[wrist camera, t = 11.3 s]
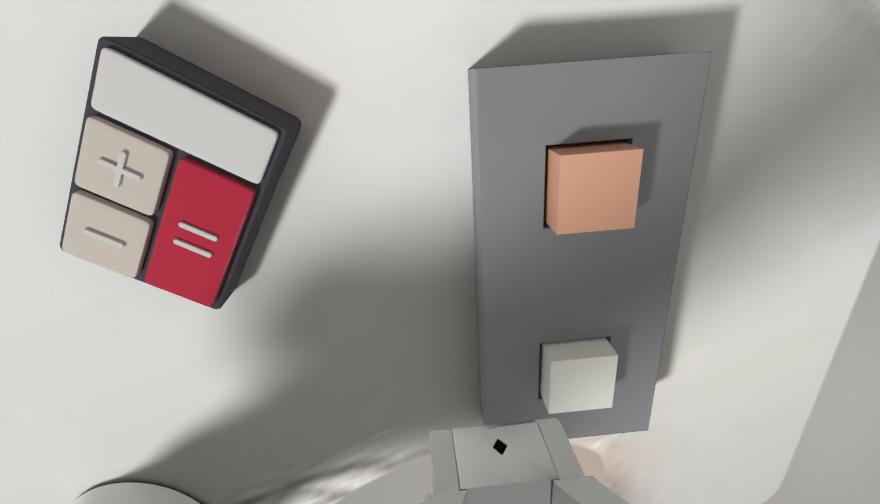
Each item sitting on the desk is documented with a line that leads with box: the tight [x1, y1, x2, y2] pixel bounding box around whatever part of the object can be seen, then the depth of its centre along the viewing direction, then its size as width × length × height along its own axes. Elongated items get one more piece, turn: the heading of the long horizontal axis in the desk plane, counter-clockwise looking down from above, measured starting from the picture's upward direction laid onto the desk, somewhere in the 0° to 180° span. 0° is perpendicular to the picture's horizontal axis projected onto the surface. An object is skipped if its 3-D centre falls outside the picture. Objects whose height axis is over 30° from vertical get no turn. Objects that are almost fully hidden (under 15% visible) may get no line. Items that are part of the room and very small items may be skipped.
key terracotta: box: [543, 140, 644, 235], centre depth 28 cm, size 5×5×4 cm
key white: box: [538, 337, 618, 414], centre depth 34 cm, size 5×5×4 cm
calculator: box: [60, 37, 301, 309], centre depth 29 cm, size 11×4×15 cm
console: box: [468, 51, 712, 439], centre depth 33 cm, size 30×14×4 cm, turn 4°
